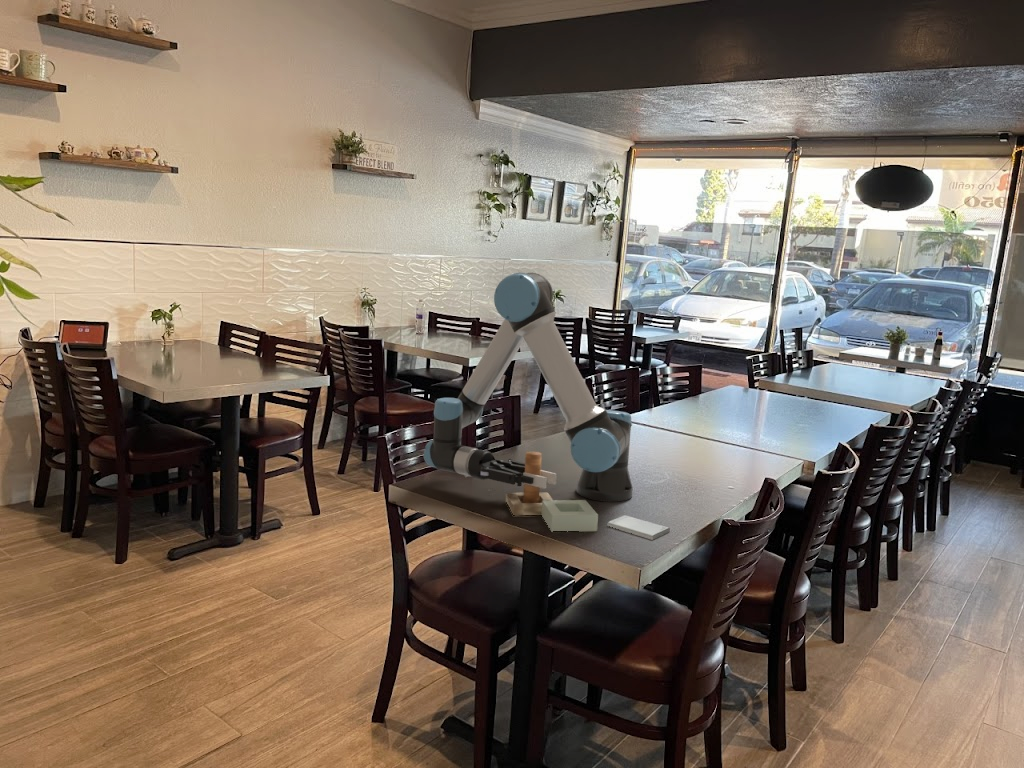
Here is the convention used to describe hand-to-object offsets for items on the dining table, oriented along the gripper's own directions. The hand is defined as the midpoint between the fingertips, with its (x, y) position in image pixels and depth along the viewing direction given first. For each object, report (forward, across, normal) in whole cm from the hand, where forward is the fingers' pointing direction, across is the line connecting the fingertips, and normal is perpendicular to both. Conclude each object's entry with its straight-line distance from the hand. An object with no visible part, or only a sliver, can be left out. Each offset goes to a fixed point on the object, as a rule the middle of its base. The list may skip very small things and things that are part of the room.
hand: (550, 481), depth 194 cm
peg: (-5, 0, -8) cm, 10 cm away
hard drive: (+22, -6, -9) cm, 24 cm away
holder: (-5, 0, -8) cm, 10 cm away
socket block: (+7, +3, -8) cm, 11 cm away
